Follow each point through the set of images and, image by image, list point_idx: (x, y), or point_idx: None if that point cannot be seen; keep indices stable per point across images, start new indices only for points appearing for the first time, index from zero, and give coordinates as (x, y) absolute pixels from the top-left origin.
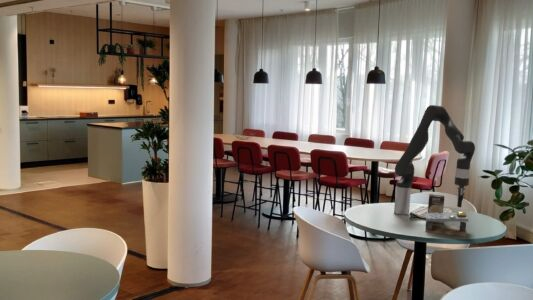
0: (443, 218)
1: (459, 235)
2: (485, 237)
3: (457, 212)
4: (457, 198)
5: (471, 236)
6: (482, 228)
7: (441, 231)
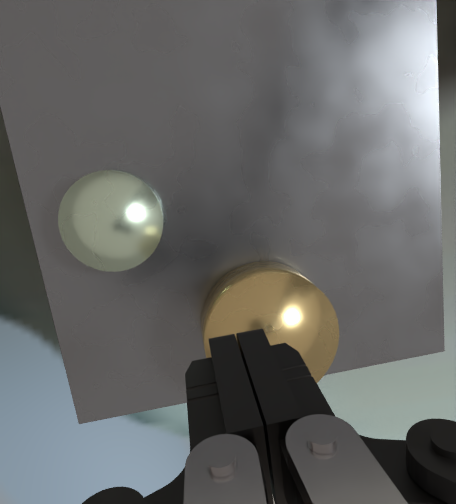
0: (12, 90)
1: None
2: (177, 432)
3: (242, 288)
4: (315, 446)
5: None
6: (442, 380)
7: None
